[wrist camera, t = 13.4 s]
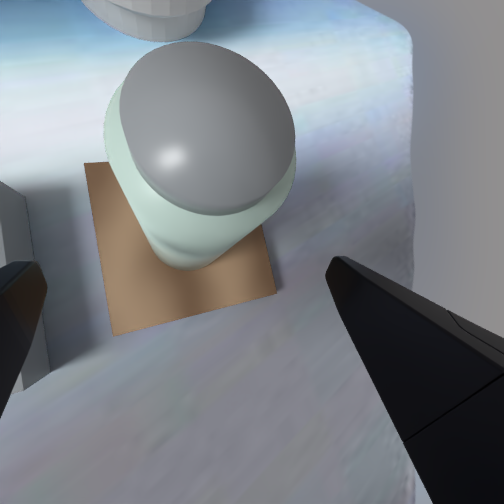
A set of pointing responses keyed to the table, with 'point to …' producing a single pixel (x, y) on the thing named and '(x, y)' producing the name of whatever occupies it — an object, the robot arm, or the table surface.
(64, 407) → the table surface
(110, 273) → the walnut pad
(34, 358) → the grey square tray
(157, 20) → the flag stand
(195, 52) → the grey-lidded mint jar
